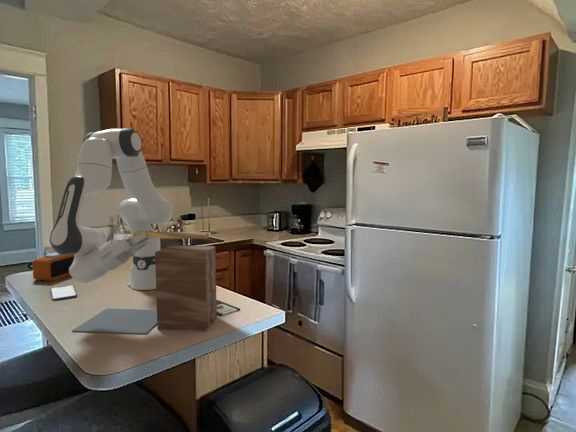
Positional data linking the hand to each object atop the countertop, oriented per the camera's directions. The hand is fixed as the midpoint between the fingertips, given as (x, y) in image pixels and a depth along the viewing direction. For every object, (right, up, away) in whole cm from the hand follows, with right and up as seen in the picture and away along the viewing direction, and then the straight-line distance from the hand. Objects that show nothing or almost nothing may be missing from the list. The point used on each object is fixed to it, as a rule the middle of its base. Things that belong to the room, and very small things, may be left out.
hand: (149, 233), depth 124 cm
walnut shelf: (+12, -30, +2) cm, 32 cm away
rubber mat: (-10, -30, +4) cm, 32 cm away
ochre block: (+7, -1, 0) cm, 7 cm away
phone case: (-47, -27, +33) cm, 64 cm away
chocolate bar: (+18, -29, +18) cm, 39 cm away
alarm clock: (-66, -24, +63) cm, 94 cm away
